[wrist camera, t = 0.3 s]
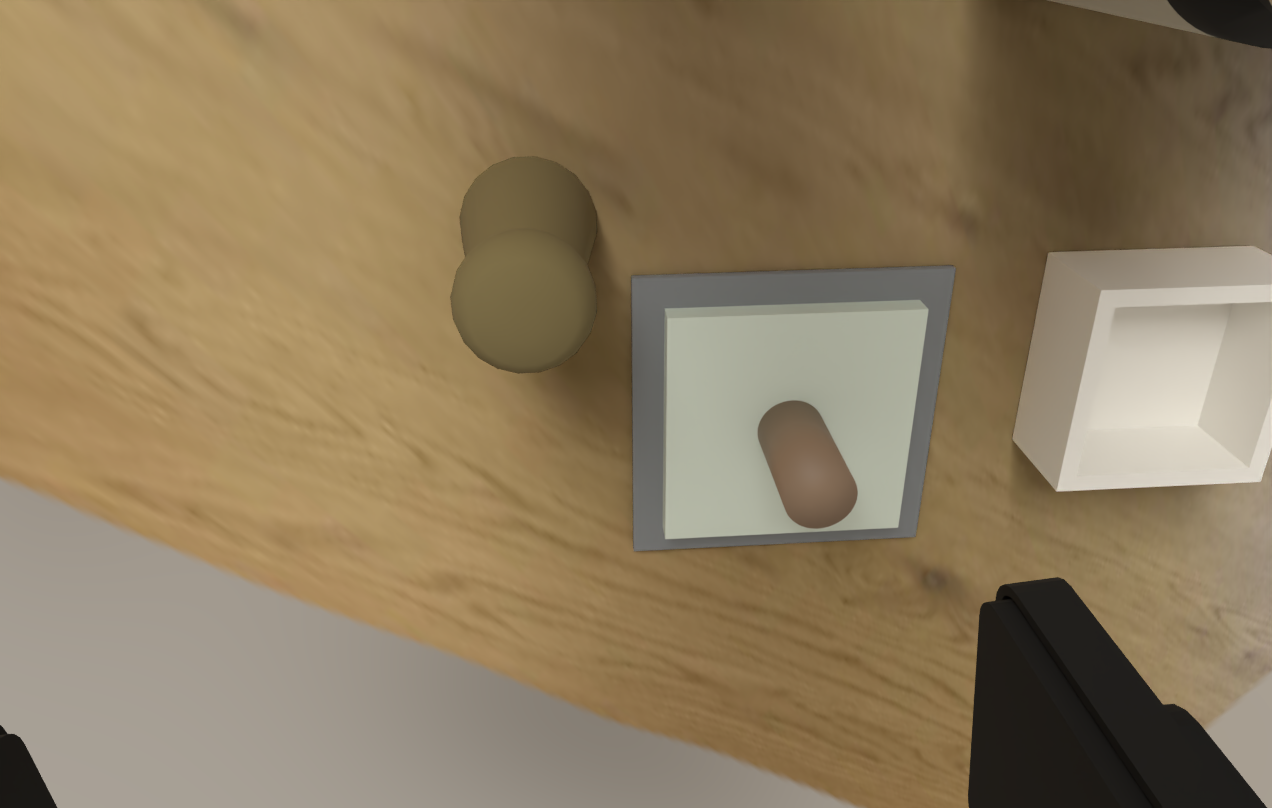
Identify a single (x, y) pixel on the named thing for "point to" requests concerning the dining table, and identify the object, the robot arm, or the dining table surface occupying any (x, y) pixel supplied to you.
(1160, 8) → the travel mug
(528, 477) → the dining table surface
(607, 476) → the dining table surface
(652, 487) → the mat
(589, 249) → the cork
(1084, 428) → the white open storage bin
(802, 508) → the lid
